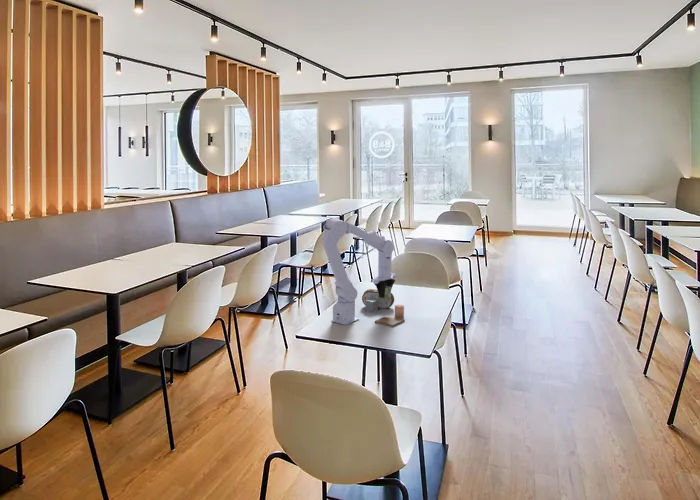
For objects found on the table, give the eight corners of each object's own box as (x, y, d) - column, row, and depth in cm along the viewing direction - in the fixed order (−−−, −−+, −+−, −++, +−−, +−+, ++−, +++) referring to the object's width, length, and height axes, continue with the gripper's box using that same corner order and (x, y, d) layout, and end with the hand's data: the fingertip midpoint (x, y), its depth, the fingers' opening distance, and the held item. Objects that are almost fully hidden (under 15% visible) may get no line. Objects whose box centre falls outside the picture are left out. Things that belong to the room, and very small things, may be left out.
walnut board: (392, 327, 196) (392, 325, 196) (375, 322, 202) (375, 320, 202) (404, 321, 203) (404, 319, 203) (387, 317, 209) (387, 315, 209)
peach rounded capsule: (400, 319, 206) (400, 308, 205) (392, 317, 209) (392, 306, 208) (405, 316, 209) (405, 305, 208) (397, 315, 212) (398, 304, 211)
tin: (394, 308, 222) (394, 290, 221) (393, 309, 219) (393, 292, 218) (362, 305, 226) (363, 288, 225) (361, 307, 223) (361, 290, 222)
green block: (385, 301, 209) (385, 288, 208) (378, 300, 212) (378, 286, 211) (390, 299, 212) (391, 286, 211) (383, 298, 215) (383, 285, 214)
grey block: (372, 312, 216) (372, 301, 215) (365, 311, 218) (365, 300, 217) (377, 310, 219) (377, 300, 218) (370, 308, 221) (370, 298, 220)
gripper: (382, 270, 201) (382, 301, 204) (401, 264, 212) (401, 294, 215) (369, 268, 206) (369, 298, 208) (388, 262, 217) (388, 291, 219)
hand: (384, 296), depth 212 cm, fingers closed on green block, 4 cm apart
